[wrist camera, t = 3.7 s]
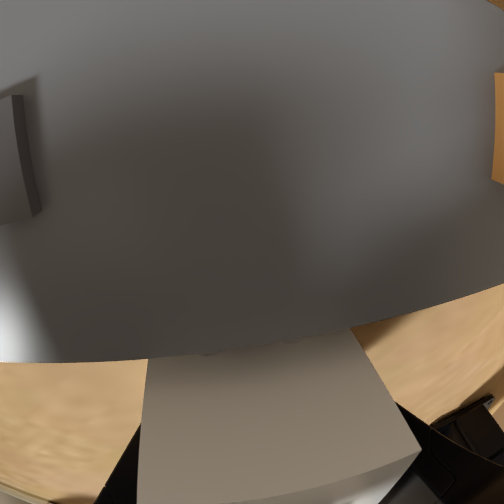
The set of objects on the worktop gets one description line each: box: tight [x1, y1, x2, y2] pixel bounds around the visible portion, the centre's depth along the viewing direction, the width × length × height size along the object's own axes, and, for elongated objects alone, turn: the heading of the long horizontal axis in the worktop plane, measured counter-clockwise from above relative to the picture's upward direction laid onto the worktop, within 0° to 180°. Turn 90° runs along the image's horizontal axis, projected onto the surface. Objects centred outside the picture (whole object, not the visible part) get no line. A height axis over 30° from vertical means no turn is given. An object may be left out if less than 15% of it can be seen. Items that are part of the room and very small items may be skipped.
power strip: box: [0, 0, 504, 363], centre depth 5 cm, size 6×16×4 cm, turn 94°
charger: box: [137, 328, 422, 504], centre depth 6 cm, size 8×4×6 cm, turn 4°
